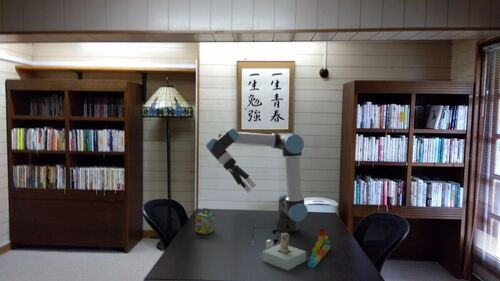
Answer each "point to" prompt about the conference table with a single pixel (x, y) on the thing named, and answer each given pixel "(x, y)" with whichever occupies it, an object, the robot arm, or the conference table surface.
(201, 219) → the chalk box
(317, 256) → the chart
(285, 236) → the tall beech pin
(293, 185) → the robot arm
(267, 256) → the hole block
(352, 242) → the conference table surface
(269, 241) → the short metal pin
